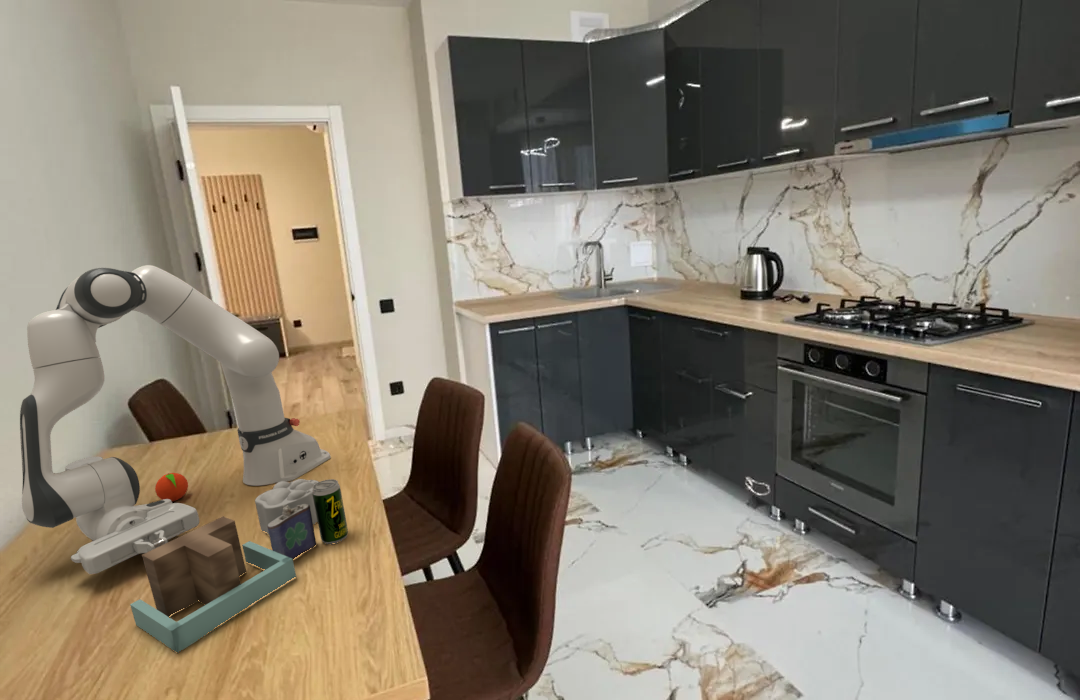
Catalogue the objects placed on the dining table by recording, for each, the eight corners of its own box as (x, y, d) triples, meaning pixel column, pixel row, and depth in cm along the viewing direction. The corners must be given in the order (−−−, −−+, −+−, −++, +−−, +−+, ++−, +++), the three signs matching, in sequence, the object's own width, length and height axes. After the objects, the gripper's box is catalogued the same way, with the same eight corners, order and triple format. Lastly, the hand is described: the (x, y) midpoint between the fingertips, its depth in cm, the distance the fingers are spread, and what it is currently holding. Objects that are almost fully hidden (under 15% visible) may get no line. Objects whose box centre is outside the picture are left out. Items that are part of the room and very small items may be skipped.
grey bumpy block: (256, 527, 127) (248, 491, 125) (312, 503, 136) (306, 469, 134) (276, 542, 120) (268, 504, 118) (334, 515, 129) (328, 480, 127)
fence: (253, 559, 114) (249, 541, 113) (296, 578, 107) (292, 558, 106) (136, 625, 97) (130, 604, 96) (177, 653, 90) (171, 631, 89)
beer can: (315, 544, 118) (305, 490, 115) (332, 530, 123) (322, 478, 120) (338, 546, 116) (327, 491, 113) (354, 532, 121) (344, 479, 118)
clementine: (196, 499, 144) (189, 472, 142) (164, 510, 139) (157, 483, 137) (186, 490, 149) (179, 465, 148) (155, 501, 144) (148, 475, 143)
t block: (235, 567, 112) (223, 516, 109) (271, 584, 105) (259, 530, 103) (157, 611, 101) (141, 554, 98) (191, 633, 94) (176, 573, 92)
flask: (281, 570, 110) (270, 518, 107) (271, 566, 111) (260, 516, 109) (320, 544, 118) (310, 496, 115) (310, 541, 119) (300, 494, 117)
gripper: (62, 542, 110) (93, 560, 102) (175, 494, 126) (208, 507, 119) (71, 571, 111) (102, 591, 104) (182, 520, 128) (215, 535, 120)
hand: (160, 546), depth 112 cm, fingers closed
